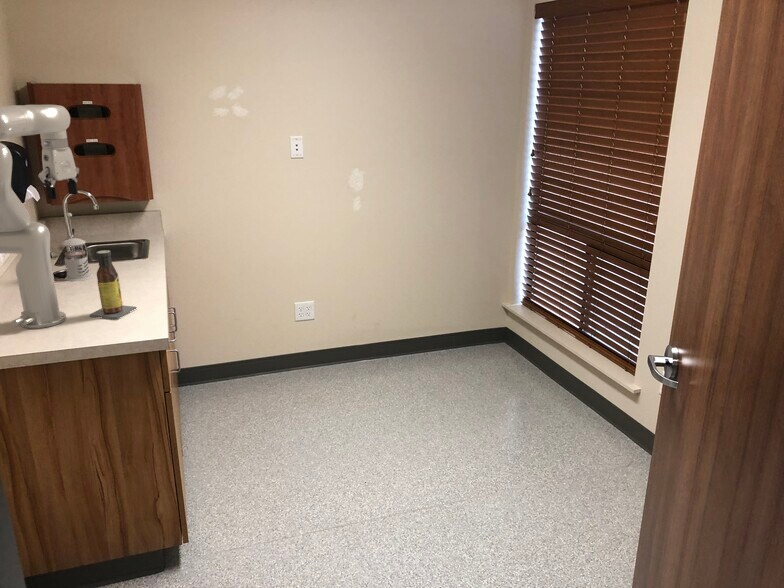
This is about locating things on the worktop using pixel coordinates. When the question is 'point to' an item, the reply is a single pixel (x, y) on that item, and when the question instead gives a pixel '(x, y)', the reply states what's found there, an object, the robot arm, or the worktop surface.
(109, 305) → the sauce bottle
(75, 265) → the french press
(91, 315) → the coaster
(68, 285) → the worktop surface
